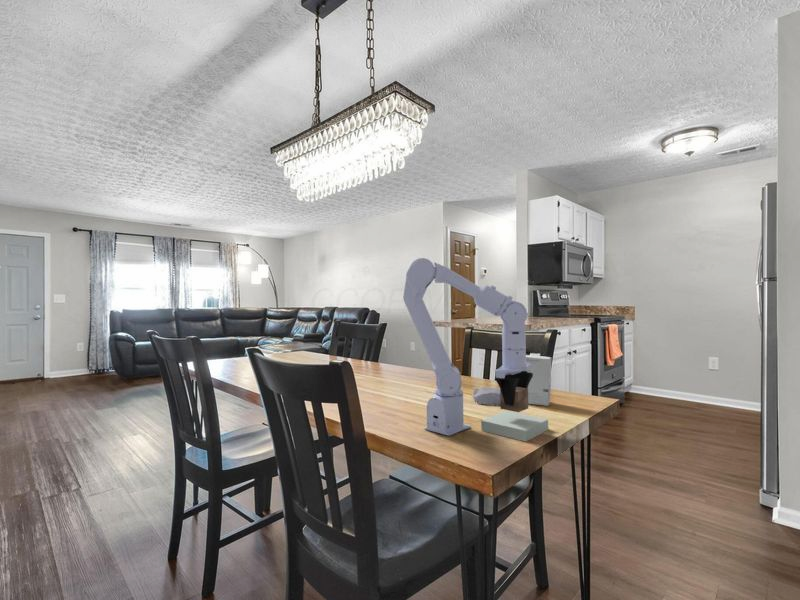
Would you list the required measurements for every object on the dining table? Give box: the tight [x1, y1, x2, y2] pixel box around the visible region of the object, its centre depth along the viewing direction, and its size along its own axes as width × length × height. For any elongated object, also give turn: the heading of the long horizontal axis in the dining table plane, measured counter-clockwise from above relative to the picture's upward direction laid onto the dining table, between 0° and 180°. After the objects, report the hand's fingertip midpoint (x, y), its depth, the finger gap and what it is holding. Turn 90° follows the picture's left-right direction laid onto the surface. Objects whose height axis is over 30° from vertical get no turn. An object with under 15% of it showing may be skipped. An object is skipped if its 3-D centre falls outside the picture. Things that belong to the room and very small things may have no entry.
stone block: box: [472, 386, 500, 405], centre depth 131 cm, size 12×5×10 cm
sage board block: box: [480, 410, 549, 442], centre depth 100 cm, size 12×12×3 cm
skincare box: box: [526, 354, 552, 407], centre depth 127 cm, size 8×6×15 cm
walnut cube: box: [499, 387, 529, 413], centre depth 101 cm, size 5×5×5 cm
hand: (514, 402), depth 100 cm, fingers closed on walnut cube, 5 cm apart
